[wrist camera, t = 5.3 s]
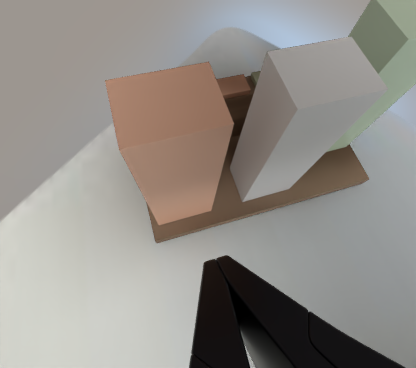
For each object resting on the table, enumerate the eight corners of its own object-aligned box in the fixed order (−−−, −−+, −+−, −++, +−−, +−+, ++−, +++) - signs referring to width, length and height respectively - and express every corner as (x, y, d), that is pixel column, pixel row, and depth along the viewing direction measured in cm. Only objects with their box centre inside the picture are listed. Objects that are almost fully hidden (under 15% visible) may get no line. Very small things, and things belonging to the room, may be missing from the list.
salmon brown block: (211, 210, 19) (234, 123, 9) (158, 225, 18) (119, 149, 8) (199, 175, 20) (209, 61, 10) (150, 188, 19) (105, 80, 9)
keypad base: (361, 183, 22) (424, 145, 16) (157, 243, 19) (141, 223, 13) (318, 106, 25) (358, 50, 19) (135, 147, 22) (114, 96, 16)
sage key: (346, 146, 22) (479, 26, 12) (305, 157, 21) (408, 39, 11) (330, 119, 23) (440, -14, 13) (290, 128, 22) (373, -4, 12)
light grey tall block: (289, 189, 20) (388, 89, 10) (242, 202, 20) (297, 109, 9) (274, 156, 21) (351, 36, 11) (229, 168, 21) (267, 51, 10)
